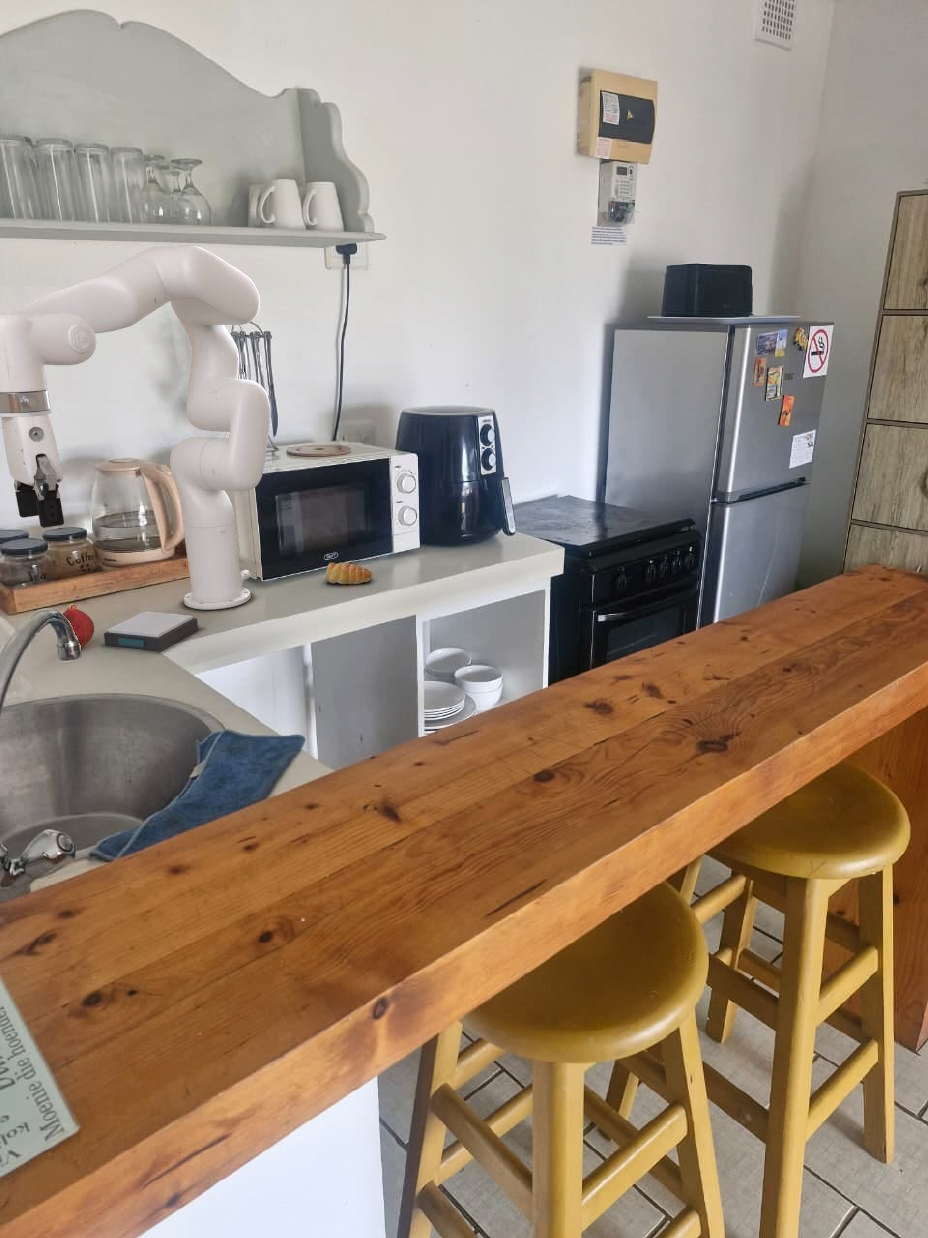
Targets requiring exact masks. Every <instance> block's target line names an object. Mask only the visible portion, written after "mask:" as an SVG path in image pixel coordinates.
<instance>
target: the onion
mask: <svg viewBox="0 0 928 1238" xmlns="http://www.w3.org/2000/svg"><path fill="white" fill-rule="evenodd" d="M62 614H63V615H64V616H65V617H66V618H67V619H68V620H69V621H70V623H71V625H72V627H73V630H74V632H75V635H76V636H77V638H78V641H79V643H80V645H81V650H83V648H84V647H85V646H86V645H87V644H88V643H89V642H90V641H91V640H92V638H93V636H94V633H95V625H94V622H93V619H92V618H91V617H90V616H89V615H88V614H87V613H86V612H84V611H82V610H80V609H78V608H77V605H76V604H75V603H71V604H69V605H68V607H67V609H66V610H65V611H64V612H62Z"/></svg>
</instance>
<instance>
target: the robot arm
mask: <svg viewBox="0 0 928 1238" xmlns="http://www.w3.org/2000/svg"><path fill="white" fill-rule="evenodd" d="M168 303H170V305H171V308H172V310H173V312H174V315H175V316H176V318H177V319H178V321H179V322H180V324H181V325H182V327H183V329H184V331H185V332H186V335H187V337H188V340H189V342H190V346H191V365H190V373H189V381H188V388H187V395H186V403H185V404H186V405H185V406H186V407H185V411H186V413H185V414H186V419H187V420H188V422H189V424H190V425H191V426H193V427H194V428H196V429H199V430H202V431H208V432H221V433H222V432H223V433H229V437H227V438H226V437H215V436H191V437H186V438H183V439H181V440H179V441H178V442H177V443H175V445H174V446H173V448H172V450H171V452H170V456H169V468H170V472H171V475H172V478H173V482H174V484H175V487H176V491H177V494H178V498H179V503H180V509H181V517H182V524H183V533H184V534H183V535H184V542H185V550H186V551H185V552H186V558H187V559H186V560H187V566H188V575H189V582H190V590H191V591H189V592H188V593H187V594H185V595H184V596H183V604H184V605H185V606H186V607H188V608H190V609H195V610H204V611H205V610H206V611H207V610H209V611H210V610H223V609H228V608H234V607H237V606H240V605H243V604H245V603H247V602H249V600H250V599H251V597H252V595H251V591H250V590H249V589H248V588H246V587H243V586H244V585H243V584H244V582H245V581H246V580H248V579H250V578H251V572H250V570H248V569H243V570H241V568H240V558H239V548H238V538H237V529H236V515H235V510H234V507H233V504H232V501H231V499H230V496H229V495H228V493H227V492H241V493H242V492H248V491H249V492H250V491H251V490H253V489H255V488H256V487H257V486H258V485H259V484H260V481H261V480H262V478H263V477H262V476H263V474H264V470H265V463H266V456H267V450H268V449H267V448H268V441H269V433H270V427H271V417H272V410H271V402H270V397H269V395H268V393H267V391H266V390H265V387H263V386H262V385H261V384H260V383H258V382H257V381H255V380H251V379H246V378H245V379H244V378H240V379H239V371H240V352H239V349H238V346H237V343H236V342H235V340H234V339H233V337H232V335H231V334H230V332H229V330H228V329H227V328H226V326H241V325H246V324H249V323H251V322H252V321H254V319H256V317H258V315H259V312H260V308H261V296H260V293H259V290H258V288H257V286H256V284H255V283H254V281H253V280H252V279H251V278H250V277H249V276H248V275H247V274H245V273H244V272H242V271H241V270H240V269H238V268H237V267H235V266H233V265H232V264H231V263H229V262H227V261H226V260H224V259H222V258H221V257H219V256H218V255H216V254H215V253H213V252H211V251H210V250H207V249H205V248H203V247H201V246H198V245H195V244H194V245H193V244H180V245H179V244H178V245H163V246H152V247H148V248H145V249H144V250H141V251H139V252H138V253H136V254H135V255H133V256H131V257H129V258H128V259H126V260H124V261H122V262H120V263H119V264H117V265H115V266H113V267H112V268H110V269H108V270H106V271H105V272H102V273H100V274H99V275H96V276H94V277H91V278H87V279H84V280H82V281H79V282H77V283H75V284H72V285H68V286H66V287H64V288H61V289H58V290H55V291H52V292H50V293H46V294H44V295H42V296H40V297H37V298H35V299H34V300H32V301H30V302H28V303H26V304H25V305H22V306H21V307H19V308H18V309H15V310H14V311H12V312H11V313H10V312H9V313H5V312H4V313H1V312H0V419H1V430H2V437H3V443H4V450H5V456H6V461H7V465H8V470H9V473H10V476H11V477H12V479H14V480H13V487H14V491H15V499H16V503H17V504H16V505H17V509H18V515H19V517H20V518H32V517H38V520H39V521H38V522H39V525H40V527H41V528H43V529H46V528H53V527H59V526H63V525H64V524H65V519H64V518H65V517H64V513H63V512H64V511H63V506H62V501H61V494H60V493H61V492H60V491H59V488H60V486H59V483H61V482H62V481H64V474H63V470H62V469H63V468H62V463H61V459H60V455H59V450H58V444H57V441H56V436H55V432H54V429H53V426H52V422H51V419H50V416H49V415H51V414H52V407H51V400H50V396H49V390H48V383H47V377H46V371H45V366H75V365H76V366H77V365H79V364H83V363H84V362H86V361H88V360H89V359H90V358H91V357H92V356H93V354H94V353H95V351H96V347H97V336H96V334H102V333H109V332H110V333H111V332H115V331H118V330H119V331H120V330H122V329H126V328H130V327H132V326H134V325H136V324H137V323H139V322H140V321H141V320H143V319H144V318H146V317H147V316H149V315H151V314H152V313H153V312H155V311H157V310H158V309H159V308H162V307H163V306H165V305H166V304H168Z"/></svg>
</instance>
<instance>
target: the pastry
mask: <svg viewBox="0 0 928 1238" xmlns="http://www.w3.org/2000/svg"><path fill="white" fill-rule="evenodd" d="M372 576H373V572H372V570H370V569H368V568H366V567H363V566H360V565H357V564H352V563H350V562H339V563H335V562H329V563H328V565H327V568H326V572H325V578H324V579H325V581H327V583H330V584H336V583H338V584H341V585H346V584H347V585H348V584H349V585H359V584H362V583H368V582H369V581H370V580H371V579H372Z"/></svg>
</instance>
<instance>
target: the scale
mask: <svg viewBox="0 0 928 1238" xmlns="http://www.w3.org/2000/svg"><path fill="white" fill-rule="evenodd" d="M197 631H199V624H198V618H197V617H193V615H190V614H188V615H187V614H178V613H167V612H157V611H146V610H144V611H142V612H140V613H138V614H136V615H134V616H132V617H129V618H127V619H125V620H123V621H122V622H120V623H117V624H116V625H113V626H111V627H109V628H107V631H105V632H103V638H104V644H105V646H106V647H107V646H108V647H118V648H128V649H136V650H146V651H156V652H162V651H164V650H166V649H168V648H169V647H171V646H174V645H175V644H177V643H178V642H180V641H181V640H183V639H185V638H187V637H188V636H190V635H192V634H194V633H196V632H197Z"/></svg>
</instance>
